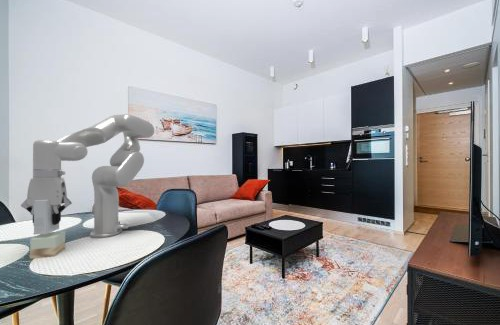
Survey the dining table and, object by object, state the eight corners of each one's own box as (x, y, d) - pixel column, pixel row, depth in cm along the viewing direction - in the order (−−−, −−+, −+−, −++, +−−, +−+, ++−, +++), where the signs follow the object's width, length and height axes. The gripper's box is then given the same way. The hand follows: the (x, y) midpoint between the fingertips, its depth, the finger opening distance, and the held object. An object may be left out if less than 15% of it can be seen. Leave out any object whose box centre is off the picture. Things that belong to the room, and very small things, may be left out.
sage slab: (65, 240, 84) (65, 231, 84) (55, 247, 77) (55, 237, 77) (42, 242, 82) (42, 233, 82) (30, 249, 75) (30, 239, 75)
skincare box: (47, 229, 82) (47, 197, 82) (59, 229, 82) (59, 197, 82) (32, 234, 76) (33, 200, 76) (46, 234, 76) (46, 200, 76)
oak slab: (64, 249, 84) (64, 240, 84) (54, 257, 77) (54, 247, 77) (42, 251, 81) (42, 242, 81) (29, 259, 75) (29, 249, 75)
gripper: (79, 173, 85) (79, 220, 85) (25, 174, 80) (24, 223, 80) (70, 174, 78) (69, 225, 78) (9, 175, 73) (9, 229, 73)
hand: (46, 223), depth 79 cm, fingers closed on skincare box, 4 cm apart
